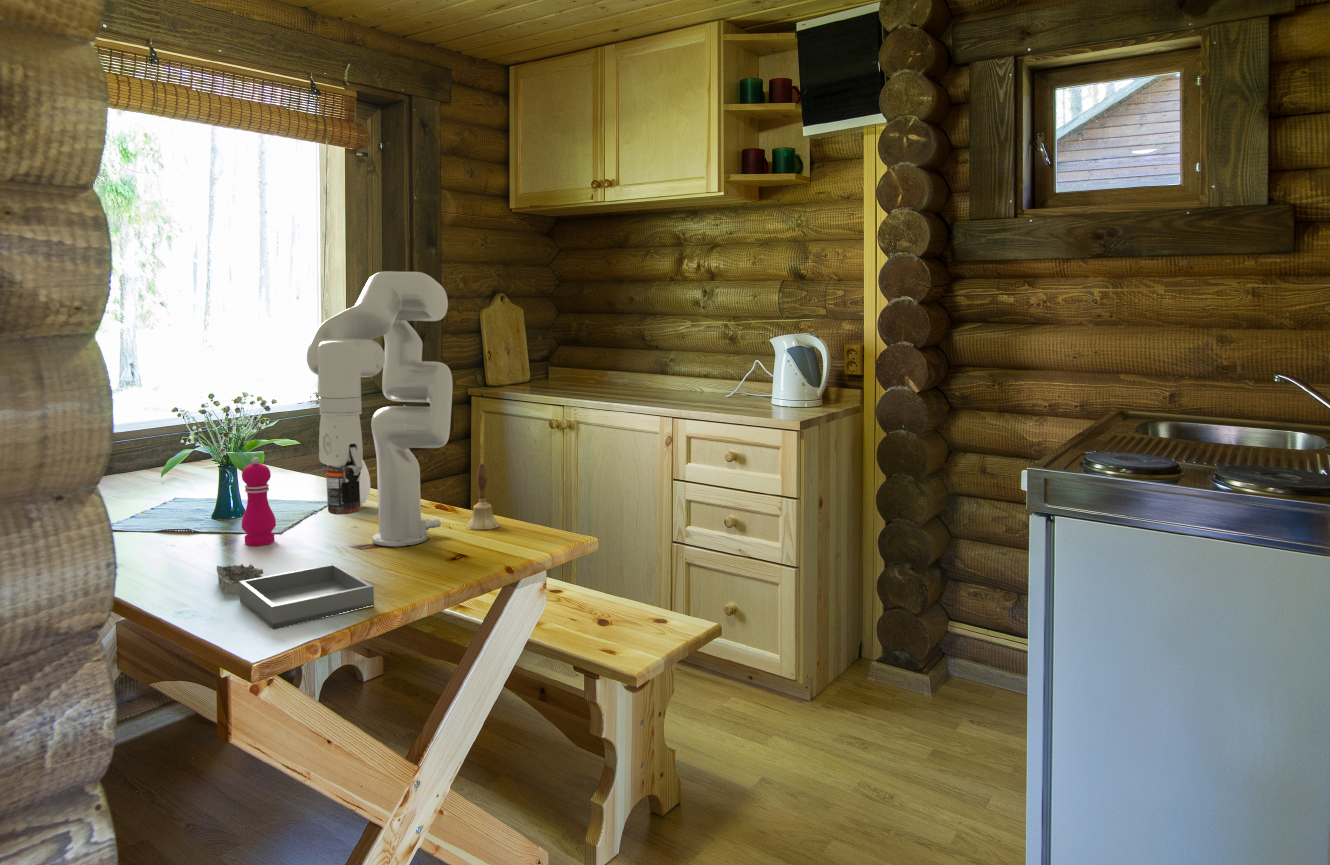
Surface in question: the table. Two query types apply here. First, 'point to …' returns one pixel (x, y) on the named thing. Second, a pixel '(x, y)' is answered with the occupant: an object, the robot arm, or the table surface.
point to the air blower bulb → (364, 484)
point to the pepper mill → (257, 505)
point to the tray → (305, 595)
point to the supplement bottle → (338, 493)
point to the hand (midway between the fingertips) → (343, 498)
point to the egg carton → (236, 576)
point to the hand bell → (482, 505)
